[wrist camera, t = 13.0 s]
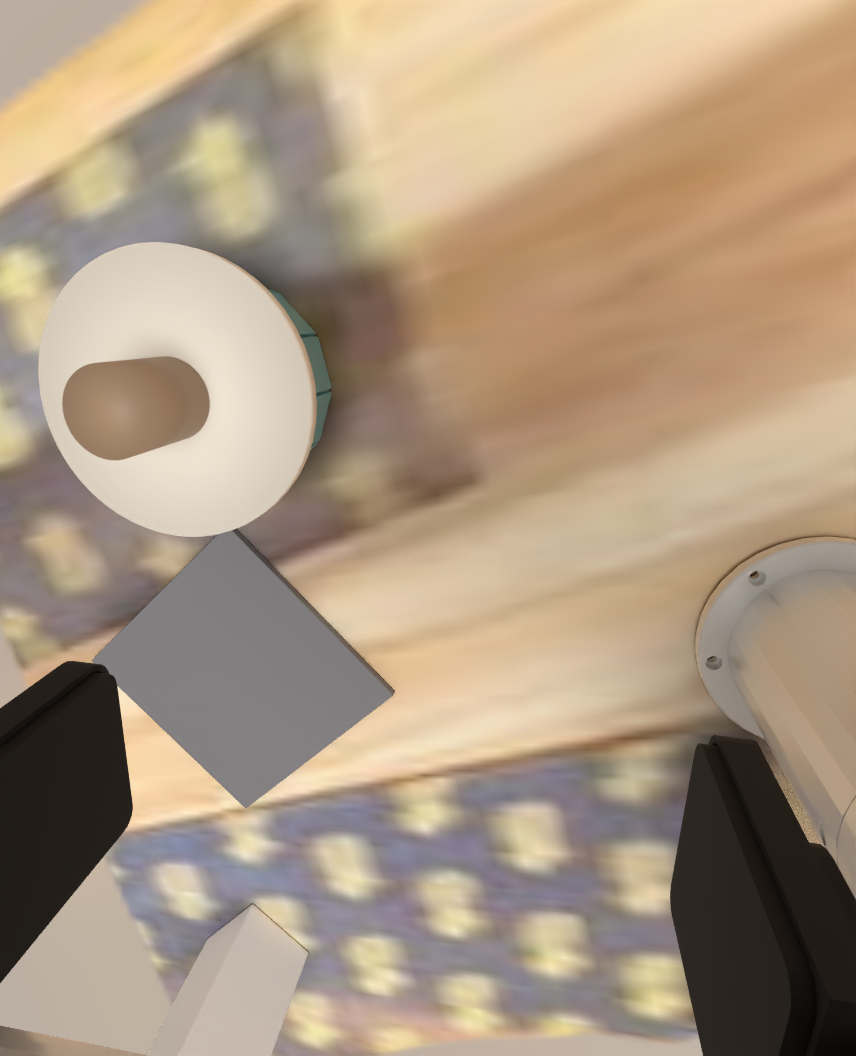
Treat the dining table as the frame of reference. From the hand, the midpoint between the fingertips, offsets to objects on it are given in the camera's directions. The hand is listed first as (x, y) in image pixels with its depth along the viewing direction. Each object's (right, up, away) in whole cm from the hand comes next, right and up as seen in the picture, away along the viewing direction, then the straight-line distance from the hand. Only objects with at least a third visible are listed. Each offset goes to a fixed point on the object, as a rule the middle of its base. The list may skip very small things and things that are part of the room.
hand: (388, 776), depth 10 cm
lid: (-12, +10, +22) cm, 27 cm away
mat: (-12, -6, +34) cm, 37 cm away
